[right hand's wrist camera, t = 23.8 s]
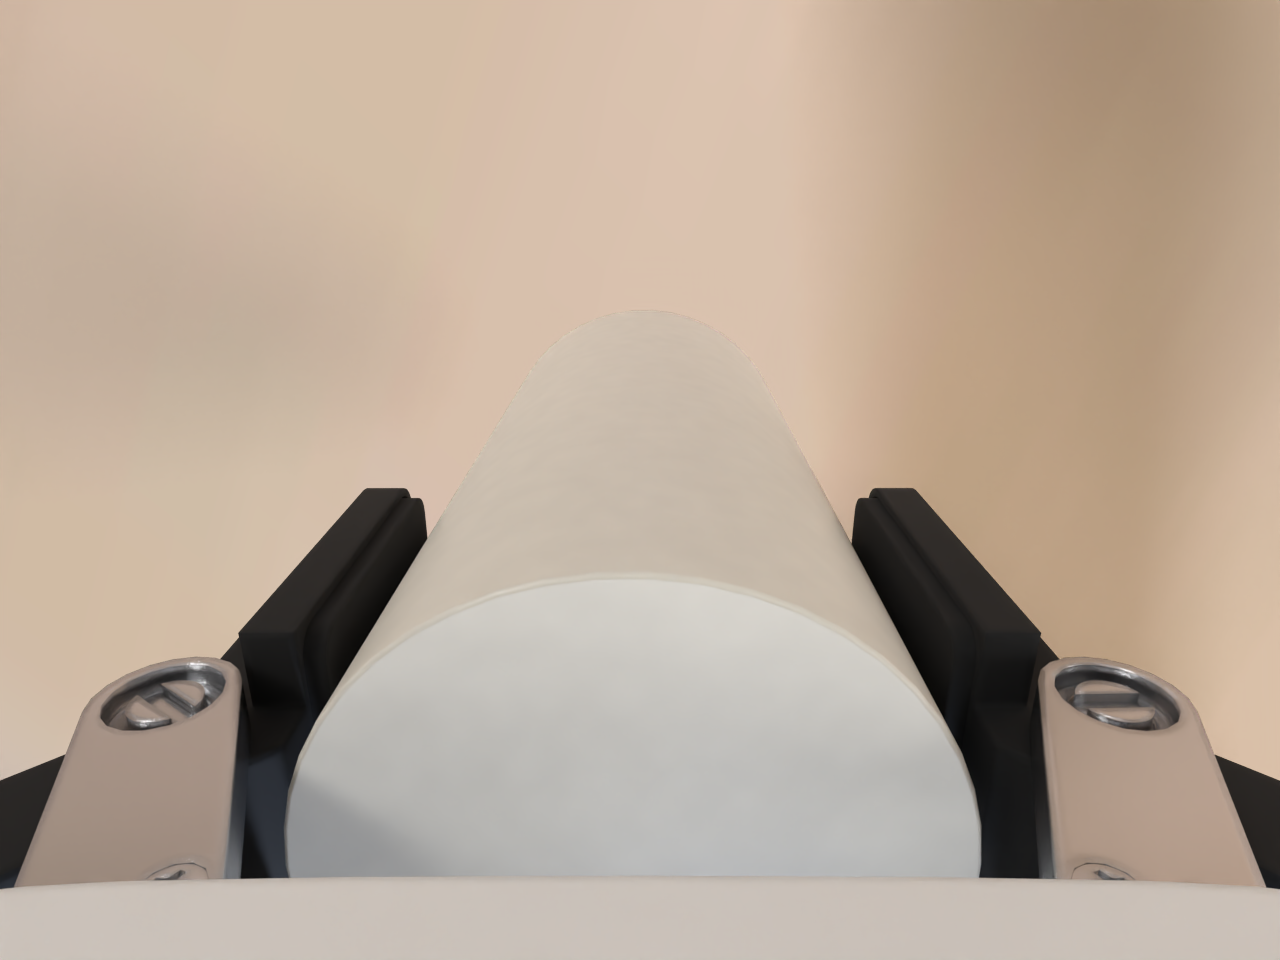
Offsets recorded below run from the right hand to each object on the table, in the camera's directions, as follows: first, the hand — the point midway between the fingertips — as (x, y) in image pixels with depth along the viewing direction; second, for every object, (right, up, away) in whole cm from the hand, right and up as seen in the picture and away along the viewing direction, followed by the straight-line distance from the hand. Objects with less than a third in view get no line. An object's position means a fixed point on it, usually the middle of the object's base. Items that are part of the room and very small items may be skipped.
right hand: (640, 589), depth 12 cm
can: (0, +2, +6) cm, 7 cm away
